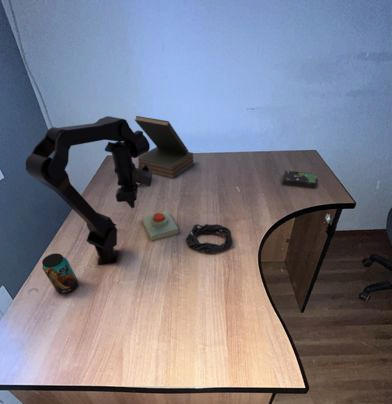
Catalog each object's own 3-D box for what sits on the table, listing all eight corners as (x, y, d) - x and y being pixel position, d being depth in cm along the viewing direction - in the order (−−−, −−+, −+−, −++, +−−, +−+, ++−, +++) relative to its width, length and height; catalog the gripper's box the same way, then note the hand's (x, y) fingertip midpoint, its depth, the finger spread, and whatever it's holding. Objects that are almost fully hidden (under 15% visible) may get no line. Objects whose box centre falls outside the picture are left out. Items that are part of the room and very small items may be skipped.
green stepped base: (178, 233, 103) (178, 224, 100) (151, 240, 101) (150, 231, 98) (168, 215, 112) (167, 206, 109) (142, 221, 110) (141, 213, 107)
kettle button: (165, 221, 103) (164, 217, 102) (155, 223, 102) (154, 219, 101) (162, 215, 106) (161, 211, 104) (152, 218, 105) (152, 214, 103)
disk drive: (282, 185, 127) (314, 188, 124) (283, 179, 125) (316, 182, 122) (283, 175, 134) (314, 178, 130) (285, 170, 132) (316, 172, 128)
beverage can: (56, 298, 82) (38, 270, 73) (57, 282, 87) (40, 254, 78) (79, 292, 83) (64, 264, 75) (79, 277, 88) (65, 249, 79)
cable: (238, 238, 100) (239, 229, 97) (222, 260, 92) (223, 251, 88) (198, 226, 106) (197, 217, 103) (180, 246, 98) (179, 237, 94)
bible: (193, 164, 146) (191, 112, 128) (173, 178, 135) (167, 123, 117) (160, 156, 155) (154, 106, 137) (138, 169, 144) (128, 117, 126)
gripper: (148, 173, 78) (155, 219, 89) (149, 150, 91) (155, 193, 102) (110, 176, 77) (122, 222, 89) (116, 152, 90) (126, 195, 101)
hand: (133, 207), depth 95 cm, fingers closed
